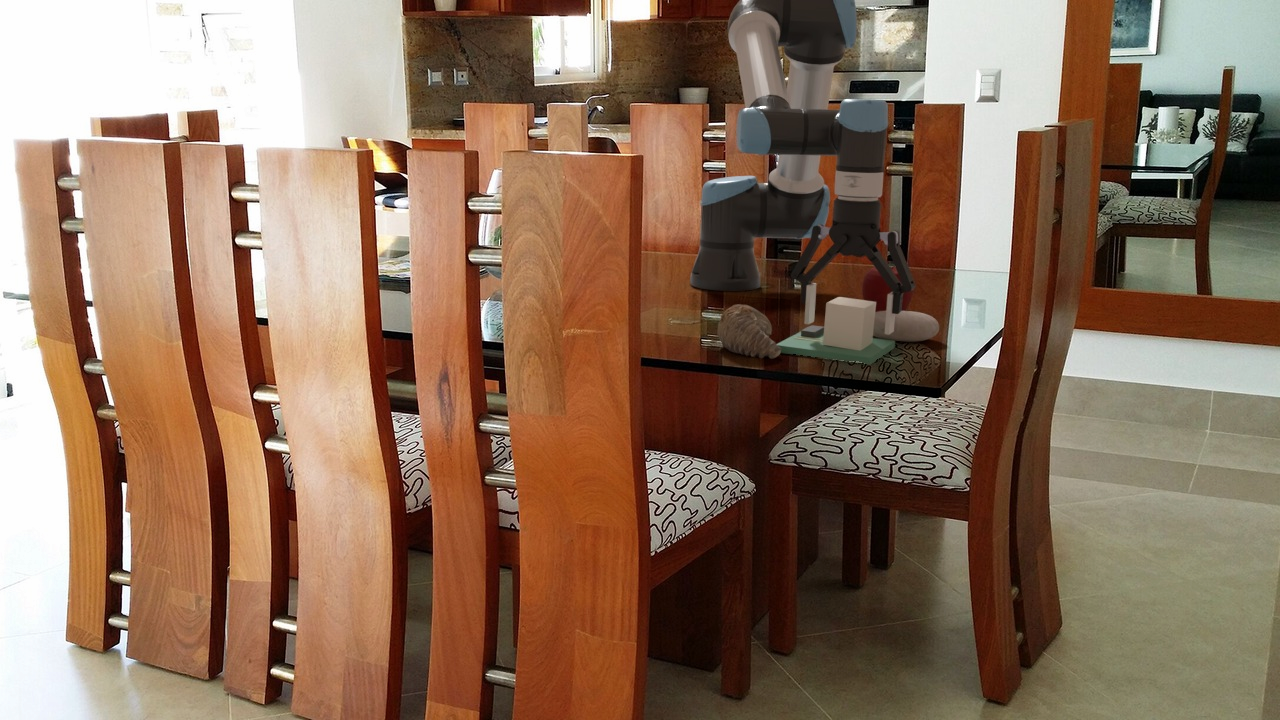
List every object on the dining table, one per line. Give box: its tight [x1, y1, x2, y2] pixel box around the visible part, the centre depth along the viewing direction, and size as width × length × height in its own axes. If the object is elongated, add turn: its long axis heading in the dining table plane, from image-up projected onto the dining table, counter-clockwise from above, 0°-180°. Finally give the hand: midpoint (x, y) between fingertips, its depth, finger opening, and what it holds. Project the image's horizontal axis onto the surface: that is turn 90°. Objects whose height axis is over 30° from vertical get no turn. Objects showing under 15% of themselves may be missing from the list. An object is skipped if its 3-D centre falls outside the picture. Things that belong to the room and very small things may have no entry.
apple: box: [861, 265, 914, 312], centre depth 209 cm, size 10×10×10 cm
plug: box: [823, 296, 876, 351], centre depth 182 cm, size 6×7×7 cm
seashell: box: [716, 303, 781, 360], centre depth 183 cm, size 14×10×10 cm
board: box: [775, 324, 896, 366], centre depth 183 cm, size 16×14×4 cm
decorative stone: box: [873, 310, 940, 343], centre depth 192 cm, size 13×9×5 cm
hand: (848, 327), depth 182 cm, fingers open, 13 cm apart
